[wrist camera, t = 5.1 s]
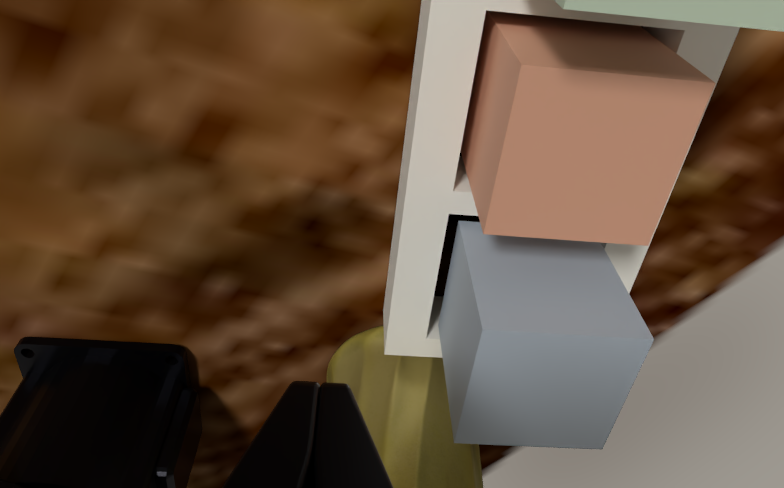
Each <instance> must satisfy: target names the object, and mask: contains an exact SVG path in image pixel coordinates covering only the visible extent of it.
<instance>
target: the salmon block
mask: <svg viewBox="0 0 784 488" xmlns="http://www.w3.org/2000/svg"><path fill="white" fill-rule="evenodd" d="M715 84H716V83H715V82H714V81H712V80H711V79H710V78H708V77H707V76H706V75H704V74H703V73H702V72H700V71H699V70H698V69H696V68H695V67H694V66H692V65H691V64H690V63H688V62H687V61H686V60H684V59H683V58H682V57H680V56H679V55H678V54H676V53H675V52H674V51H672V50H671V49H670V48H668V47H667V46H666V45H664V44H663V43H662V42H660V41H659V40H658V39H656V38H655V37H654V36H652V35H651V34H650V33H648V32H647V31H646V30H644V29H643V28H642V27H640V26H636V25H627V24H617V23H607V22H597V21H587V20H577V19H567V18H557V17H547V16H538V15H528V14H518V13H508V12H498V11H488V10H486V14H485V19H484V25H483V30H482V36H481V41H480V47H479V52H478V57H477V63H476V68H475V74H474V79H473V85H472V90H471V96H470V101H469V107H468V112H467V118H466V123H465V129H464V134H463V140H462V145H461V154H462V158H463V162H464V165H465V169H466V173H467V176H468V180H469V184H470V187H471V191H472V195H473V198H474V202H475V206H476V209H477V213H478V217H479V220H480V224H481V228H482V231H483V234H488V235H502V236H516V237H530V238H544V239H558V240H573V241H587V242H601V243H615V244H629V245H643V246H648V245H649V243H650V240H651V238H652V236H653V233H654V231H655V228H656V226H657V224H658V221H659V219H660V216H661V214H662V211H663V209H664V207H665V204H666V202H667V199H668V197H669V195H670V192H671V190H672V187H673V185H674V183H675V180H676V178H677V175H678V173H679V171H680V168H681V166H682V163H683V161H684V159H685V156H686V154H687V151H688V149H689V147H690V144H691V142H692V139H693V137H694V135H695V132H696V130H697V127H698V125H699V122H700V120H701V118H702V115H703V113H704V110H705V108H706V106H707V103H708V101H709V98H710V96H711V94H712V91H713V89H714V86H715Z"/></svg>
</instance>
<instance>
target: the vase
mask: <svg viewBox="0 0 784 488" xmlns="http://www.w3.org/2000/svg"><path fill="white" fill-rule="evenodd" d="M327 382H328V383H345V384H348V385H349V387H350V388H351V390H352V392H353V395H354V397H355V399H356V402H357V404H358V406H359V409H360V411H361V413H362V416H363V418H364V420H365V423H366V425H367V427H368V429H369V432H370V434H371V436H372V439H373V441H374V443H375V446H376V448H377V450H378V453H379V455H380V457H381V460H382V462H383V464H384V467H385V469H386V471H387V474H388V476H389V478H390V481H391V483H392V485H393V488H483V481H482V471H481V461H480V451H479V444H462V443H454V439H453V432H452V424H451V417H450V409H449V402H448V395H447V387H446V380H445V372H444V365H443V358H438V357H419V356H401V355H384V325H382V326H378V327H375V328H372V329H369V330H366V331H364V332H361V333H359V334H357V335H355V336H353V337H351V338H350V339H349V340H347V341H346V342H345V343H344V344H342V345H341V346H340V347H339V349H338V350H337V351H336V352H335V354H334V355H333V356H332V358H331V360H330V363H329V366H328V369H327Z"/></svg>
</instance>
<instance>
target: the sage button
mask: <svg viewBox="0 0 784 488" xmlns="http://www.w3.org/2000/svg"><path fill="white" fill-rule="evenodd" d="M554 1H555V2H556V3H557V4H558V5H560V6H561V7H562V8H563V9H568V10H577V11H587V12H597V13H607V14H617V15H626V16H636V17H646V18H656V19H665V20H675V21H685V22H695V23H705V24H714V25H724V26H734V27H744V28H753V29H763V30H773V31H783V32H784V0H554Z"/></svg>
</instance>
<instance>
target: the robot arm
mask: <svg viewBox="0 0 784 488" xmlns="http://www.w3.org/2000/svg"><path fill="white" fill-rule="evenodd" d="M29 349H30V350H29ZM14 353H15V356H16V359H17V362H18V365H19V368H20V370H21V373H22V376H23V380H22V382H21V383H20V385H19V386H18V388H17V390H16V391H15V393H14V394H13V396H12V398H11V399H10V401H9V402H8V404H7V406H6V407H5V409H4V410H3V412H2V413H1V415H0V488H186V487H187V483H188V479H189V476H190V472H191V469H192V465H193V462H194V458H195V454H196V451H197V447H198V444H199V440H200V436H201V433H202V422H201V414H200V405H199V396H198V393H197V391H196V390H195V389H194V388H191V385H190V377H189V369H188V361H187V354H186V351H185V350H184V349H183V348H182V347H180V346H178V345H173V344H154V343H136V342H117V341H98V340H79V339H61V338H42V337H24V338H22V339H21V340H20V341H19V343H18V344H17V346H16V347H15V349H14ZM170 356H173V357H175V358H172V357H170ZM222 488H393V485H392V483H391V481H390V478H389V476H388V474H387V471H386V469H385V467H384V464H383V462H382V460H381V457H380V455H379V453H378V450H377V448H376V446H375V443H374V441H373V439H372V436H371V434H370V432H369V429H368V427H367V425H366V423H365V420H364V418H363V416H362V413H361V411H360V409H359V406H358V404H357V402H356V399H355V397H354V395H353V392H352V390H351V388H350V387H349V385H348V384H345V383H328V382H326V383H323V384H322V385H321V387H320V385H319V384H318V383H317V382H308V381H294V382H292V383H291V384H290V385H289V387H288V388H287V390H286V391H285V393H284V394H283V396H282V397H281V399H280V400H279V402H278V403H277V405H276V406H275V408H274V409H273V411H272V412H271V414H270V415H269V417H268V418H267V420H266V421H265V423H264V424H263V426H262V427H261V429H260V430H259V432H258V433H257V435H256V436H255V438H254V439H253V441H252V442H251V444H250V445H249V447H248V449H247V450H246V452H245V453H244V455H243V456H242V458H241V459H240V461H239V462H238V464H237V465H236V467H235V468H234V470H233V471H232V473H231V474H230V476H229V477H228V479H227V480H226V482H225V483H224V485H223V486H222Z"/></svg>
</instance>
